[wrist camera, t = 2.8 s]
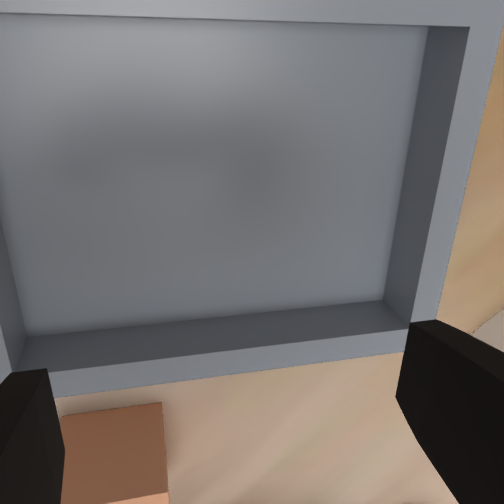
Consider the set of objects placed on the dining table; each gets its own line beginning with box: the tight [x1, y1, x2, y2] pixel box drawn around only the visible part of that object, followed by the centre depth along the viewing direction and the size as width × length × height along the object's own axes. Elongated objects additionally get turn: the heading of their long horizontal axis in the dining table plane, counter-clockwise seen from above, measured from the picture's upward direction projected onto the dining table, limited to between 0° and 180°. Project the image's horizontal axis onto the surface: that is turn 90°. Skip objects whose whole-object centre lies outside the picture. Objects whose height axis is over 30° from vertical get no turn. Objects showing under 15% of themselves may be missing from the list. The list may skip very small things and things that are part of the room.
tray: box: [0, 0, 504, 398], centre depth 17 cm, size 18×14×3 cm
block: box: [61, 402, 169, 504], centre depth 21 cm, size 4×4×5 cm
